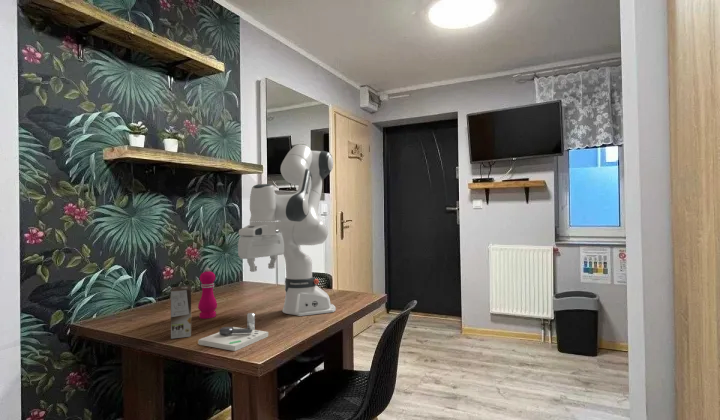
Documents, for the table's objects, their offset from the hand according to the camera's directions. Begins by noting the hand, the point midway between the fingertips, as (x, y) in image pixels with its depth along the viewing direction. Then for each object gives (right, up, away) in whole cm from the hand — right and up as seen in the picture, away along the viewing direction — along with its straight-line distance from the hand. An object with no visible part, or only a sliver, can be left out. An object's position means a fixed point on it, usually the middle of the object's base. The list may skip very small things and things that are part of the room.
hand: (262, 269), depth 134 cm
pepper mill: (-28, -23, +23) cm, 43 cm away
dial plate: (-7, -22, -8) cm, 24 cm away
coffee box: (-28, -23, 0) cm, 36 cm away
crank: (-7, -20, -6) cm, 22 cm away
